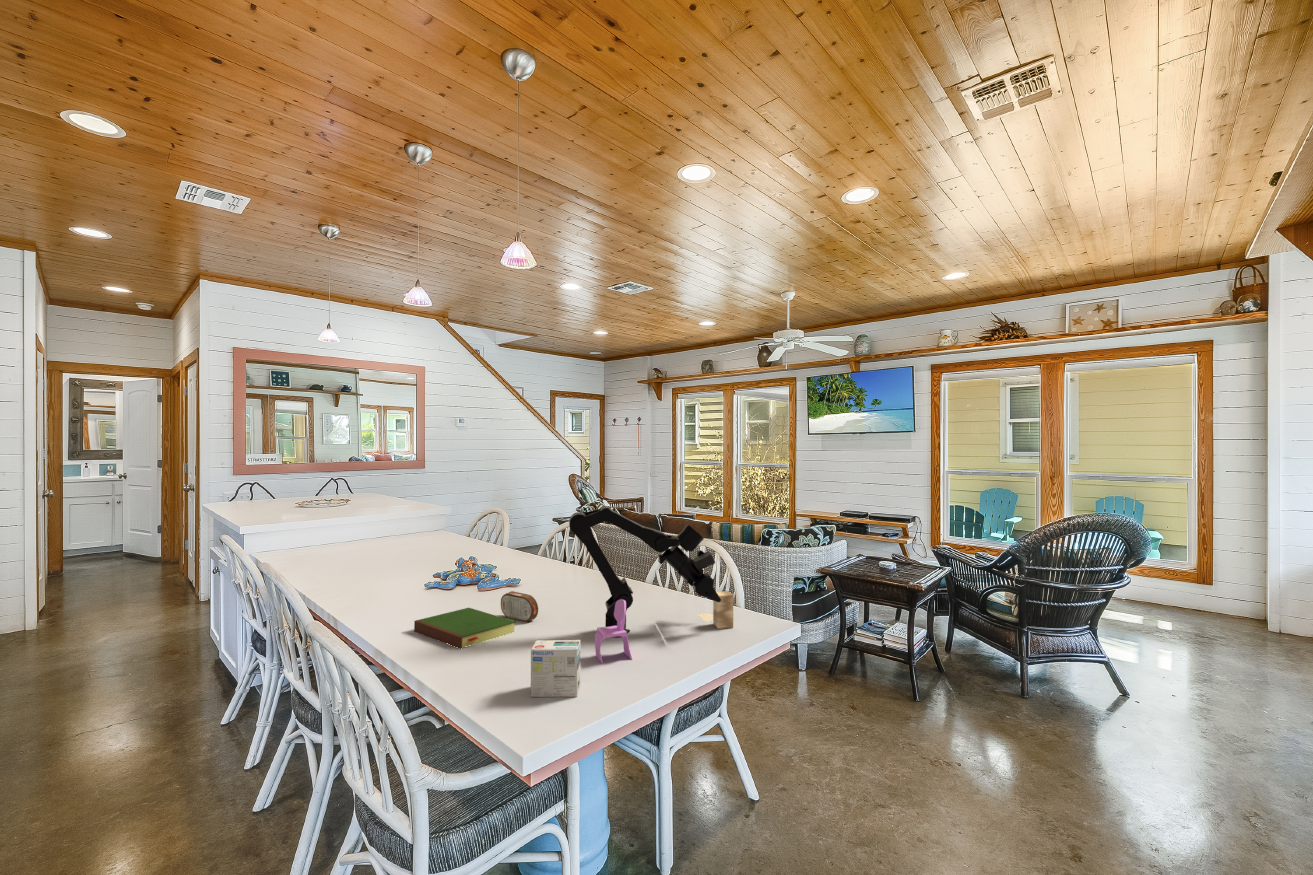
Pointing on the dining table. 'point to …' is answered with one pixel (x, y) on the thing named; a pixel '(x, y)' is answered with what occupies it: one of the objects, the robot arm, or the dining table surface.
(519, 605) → the tin
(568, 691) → the light bulb box
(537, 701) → the dining table surface
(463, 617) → the hardcover book
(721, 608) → the maple block
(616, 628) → the toy chair
